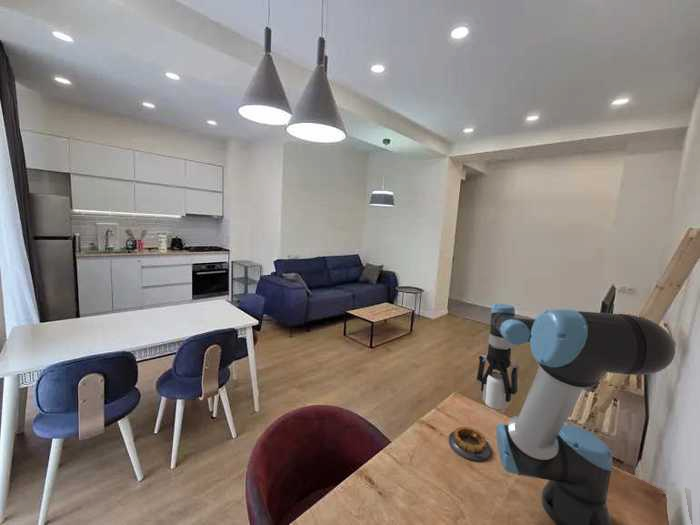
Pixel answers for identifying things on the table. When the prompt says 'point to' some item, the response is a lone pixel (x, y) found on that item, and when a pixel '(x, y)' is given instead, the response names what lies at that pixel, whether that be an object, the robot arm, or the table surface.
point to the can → (494, 391)
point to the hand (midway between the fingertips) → (494, 404)
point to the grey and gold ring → (469, 444)
